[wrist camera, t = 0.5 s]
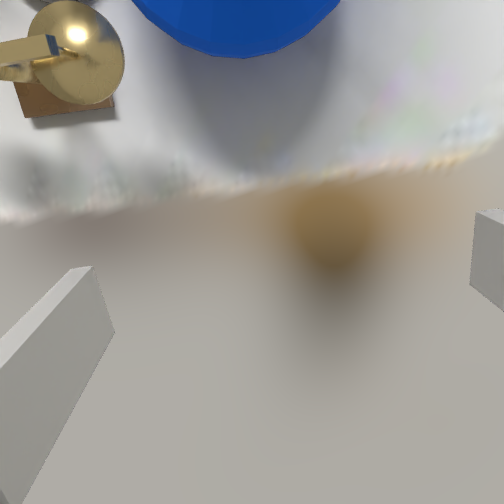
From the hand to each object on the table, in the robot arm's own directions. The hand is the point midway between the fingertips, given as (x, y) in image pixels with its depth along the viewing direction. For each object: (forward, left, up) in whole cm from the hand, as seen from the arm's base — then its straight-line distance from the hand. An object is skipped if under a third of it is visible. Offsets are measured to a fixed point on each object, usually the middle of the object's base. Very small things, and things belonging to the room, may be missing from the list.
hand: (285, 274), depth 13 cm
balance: (-10, -17, -26) cm, 33 cm away
